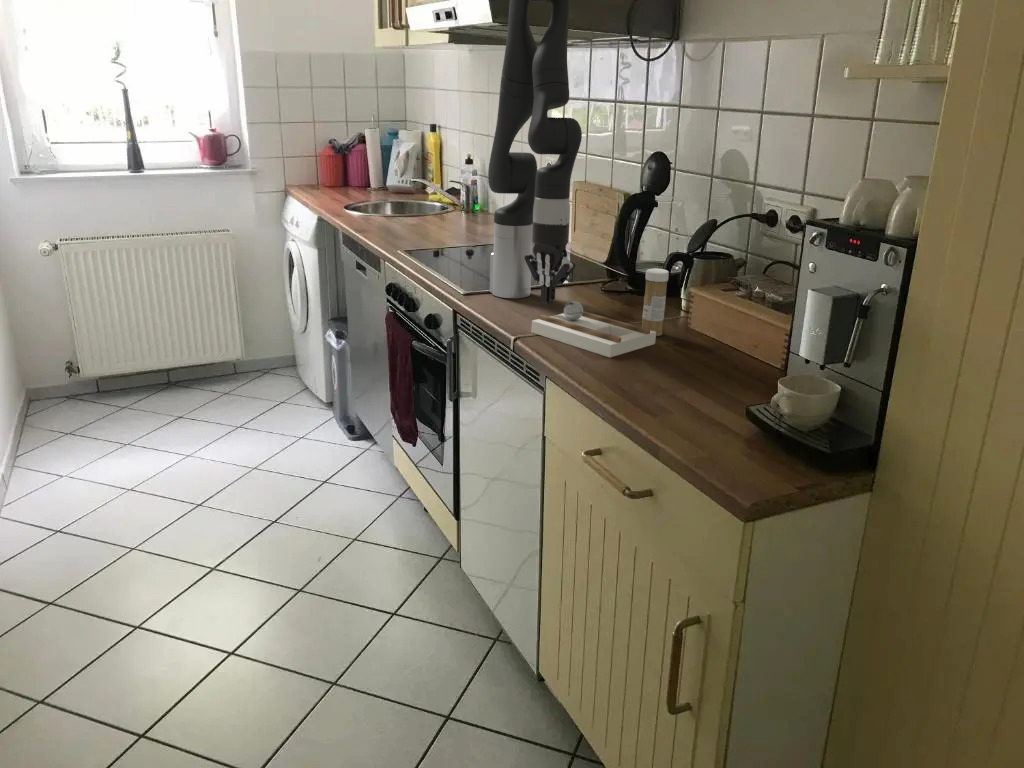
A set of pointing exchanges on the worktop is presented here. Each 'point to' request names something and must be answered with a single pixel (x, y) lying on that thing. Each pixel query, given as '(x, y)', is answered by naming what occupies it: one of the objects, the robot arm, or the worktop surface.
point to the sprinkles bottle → (654, 299)
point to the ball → (573, 310)
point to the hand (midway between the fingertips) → (547, 302)
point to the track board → (594, 333)
